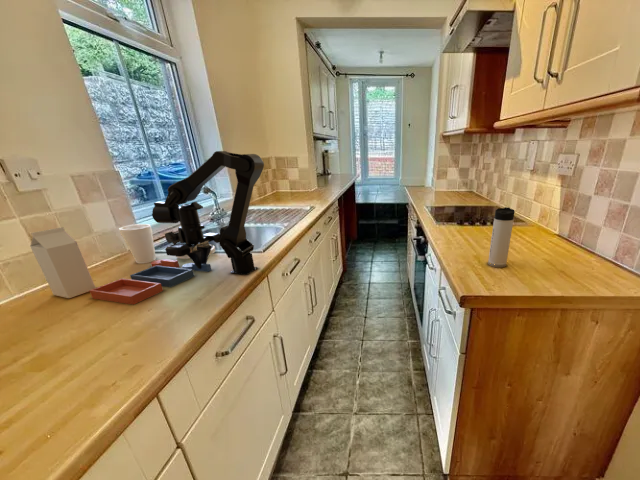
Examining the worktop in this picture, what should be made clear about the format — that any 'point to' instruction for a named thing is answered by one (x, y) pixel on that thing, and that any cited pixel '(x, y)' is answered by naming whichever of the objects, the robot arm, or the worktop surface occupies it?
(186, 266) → the blue spoon
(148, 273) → the blue tray
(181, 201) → the robot arm
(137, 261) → the foam cup
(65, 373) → the worktop surface
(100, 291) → the terracotta tray
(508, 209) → the travel mug
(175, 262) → the terracotta spoon
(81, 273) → the milk carton
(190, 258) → the plastic lid
